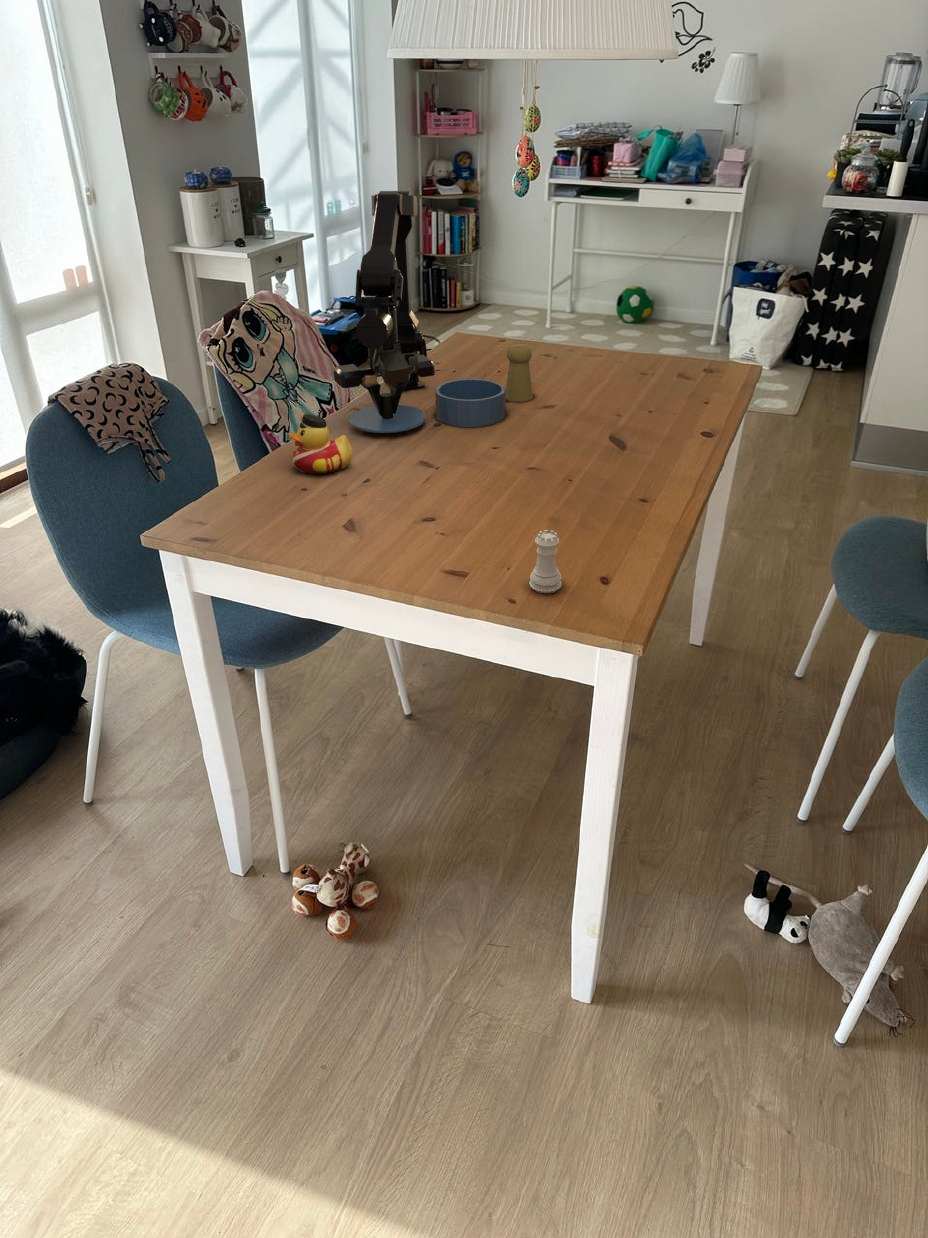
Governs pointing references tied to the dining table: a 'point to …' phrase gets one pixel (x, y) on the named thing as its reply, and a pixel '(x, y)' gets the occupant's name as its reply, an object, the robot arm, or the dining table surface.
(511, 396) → the tan pawn
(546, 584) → the rook chess piece
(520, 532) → the dining table surface
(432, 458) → the dining table surface
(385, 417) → the lid
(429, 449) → the dining table surface
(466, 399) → the basin
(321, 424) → the toy
